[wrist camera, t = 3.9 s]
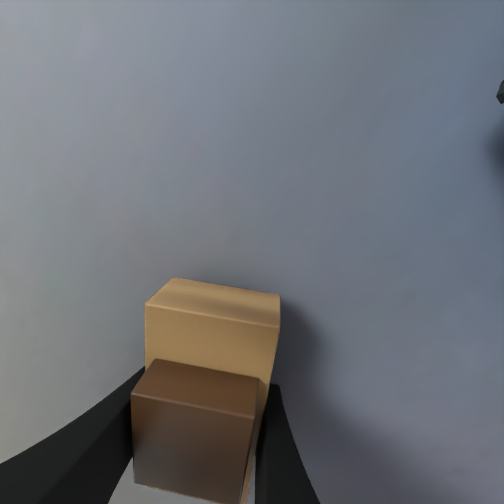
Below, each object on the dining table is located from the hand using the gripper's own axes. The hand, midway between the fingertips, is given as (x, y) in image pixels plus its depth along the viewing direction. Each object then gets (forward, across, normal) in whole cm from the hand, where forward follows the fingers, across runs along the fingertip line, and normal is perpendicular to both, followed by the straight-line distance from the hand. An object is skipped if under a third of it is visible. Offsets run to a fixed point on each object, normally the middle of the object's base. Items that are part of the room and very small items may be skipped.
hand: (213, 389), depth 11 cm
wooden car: (+2, 0, 0) cm, 2 cm away
